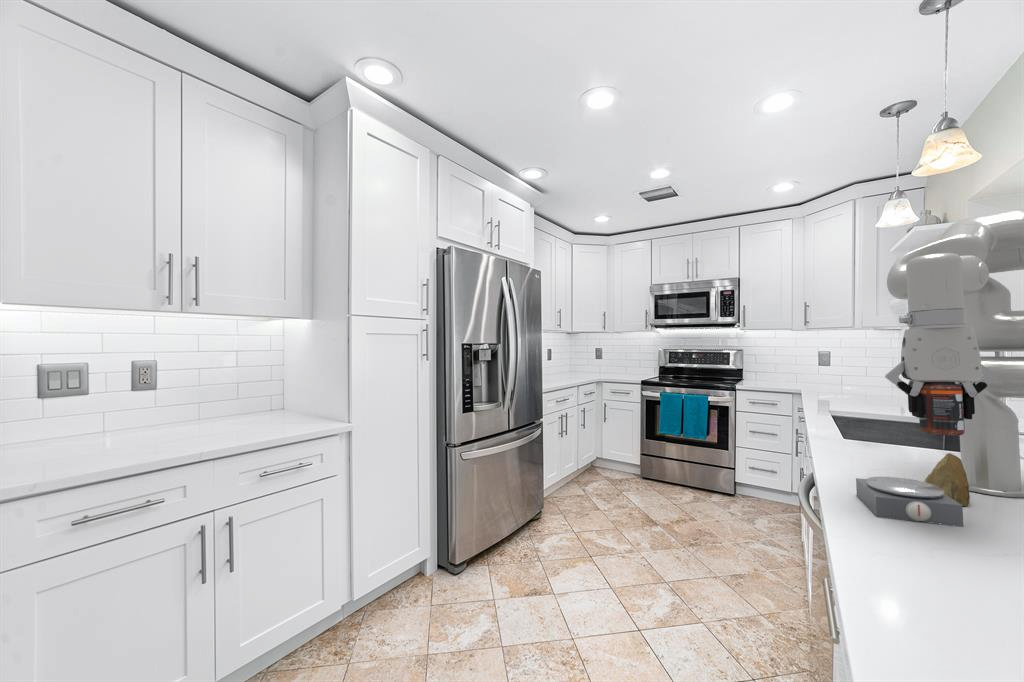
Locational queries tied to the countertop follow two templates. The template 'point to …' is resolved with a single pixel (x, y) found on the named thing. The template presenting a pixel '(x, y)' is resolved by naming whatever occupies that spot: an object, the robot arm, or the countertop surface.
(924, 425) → the supplement bottle
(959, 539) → the countertop surface
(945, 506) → the scale base
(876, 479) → the scale pan
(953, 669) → the countertop surface
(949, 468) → the rock
